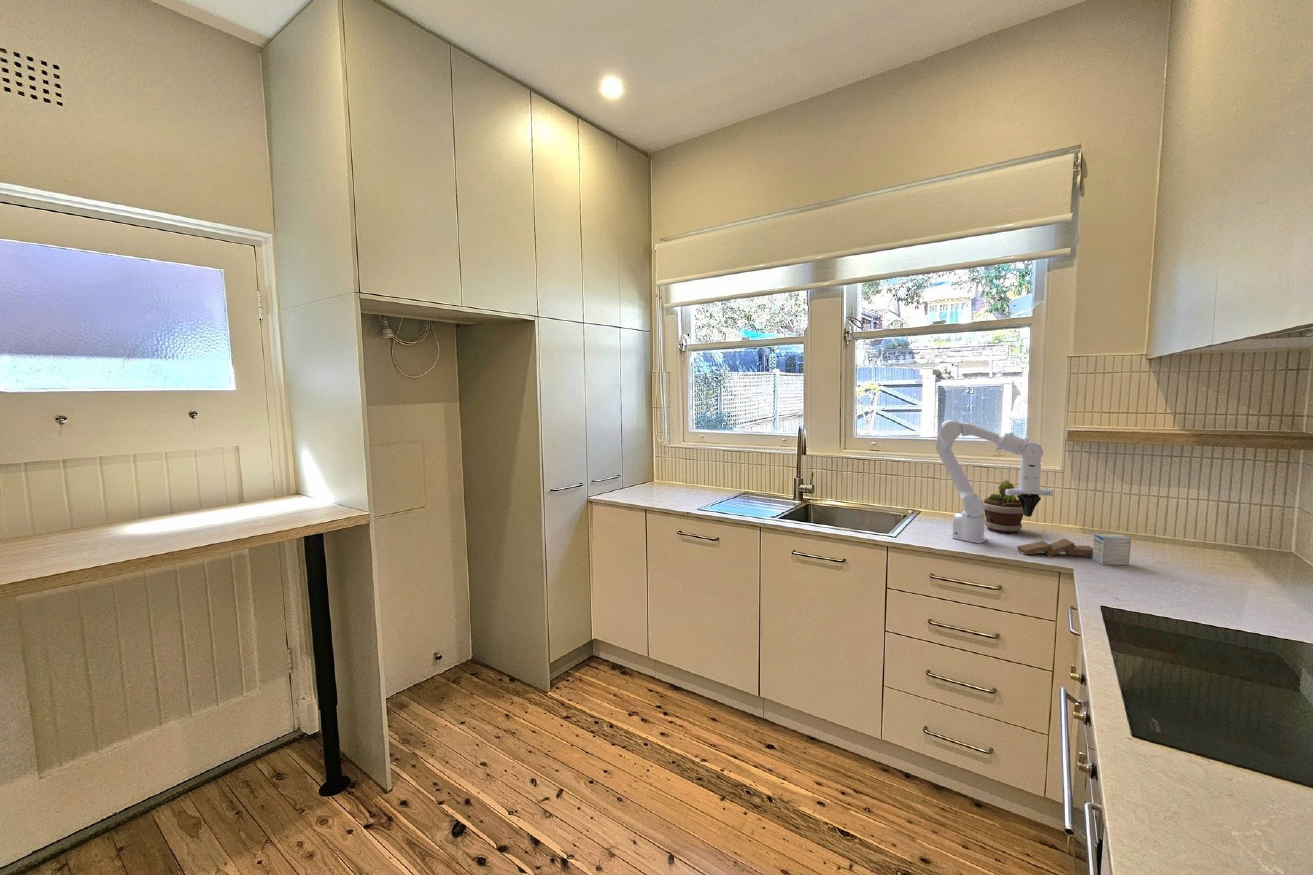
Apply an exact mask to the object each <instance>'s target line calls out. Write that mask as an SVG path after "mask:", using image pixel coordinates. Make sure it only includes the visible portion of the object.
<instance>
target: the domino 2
mask: <svg viewBox="0 0 1313 875" xmlns="http://www.w3.org/2000/svg"><path fill="white" fill-rule="evenodd" d="M1049 544H1050V545H1051V546H1052V550H1049V551H1044V554H1045V553H1047V554H1048V555H1049V556H1048V555H1047V556H1048V557H1052V556H1055V555H1059V554H1060V553H1064V551H1067V550H1070V549H1073V548H1076V547H1075V543H1074V542H1073V541H1070V540H1068V539H1066V538H1062V539H1060V540H1057V541H1053V542H1051V543H1049Z"/></svg>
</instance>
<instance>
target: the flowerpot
mask: <svg viewBox="0 0 1313 875" xmlns="http://www.w3.org/2000/svg"><path fill="white" fill-rule="evenodd" d="M997 489H999V490H997V493H996V492H994V493H990V496H989V497H988V496H987V497H986V498H985V499H984V500H982V501H983V504H984V507H985V510H984V512H983V513H984V515H985V522H984V526H986V528H987V529H988V530H989V531H992V532H995V533H1002V534H1006V533H1010V534H1017V533H1019V531H1020V530H1021V529H1022V528H1023V524H1022V521H1023V519H1024V513H1023V509H1022V505H1021V503H1020V501H1019V499H1018V498H1016V497H1017V496H1015V495H1011V496H1008V495H1005V489H1016V486H1015V484H1014V483H1013V482H1011V481H1010V480H1009V479H1008V478H1007V477H1006V480H1005V479H1003V480H1002V481H1001V483H999V485H998V486H997Z"/></svg>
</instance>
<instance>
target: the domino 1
mask: <svg viewBox="0 0 1313 875" xmlns="http://www.w3.org/2000/svg"><path fill="white" fill-rule="evenodd" d="M1050 544H1051V543H1048V542H1046V541H1043V540H1040V541H1036V542H1030V543H1025V544H1022V545H1021V544H1020V545H1017V551H1018V550H1019V551H1018V552H1020V551H1021V552H1023V553H1025V554H1030V555H1034V554H1035V555H1036V554H1039V553H1043V552H1044V551H1049V550H1052V546H1051V545H1050ZM1021 552H1020V553H1021ZM1023 553H1022V554H1023ZM1025 554H1024V555H1025Z"/></svg>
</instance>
